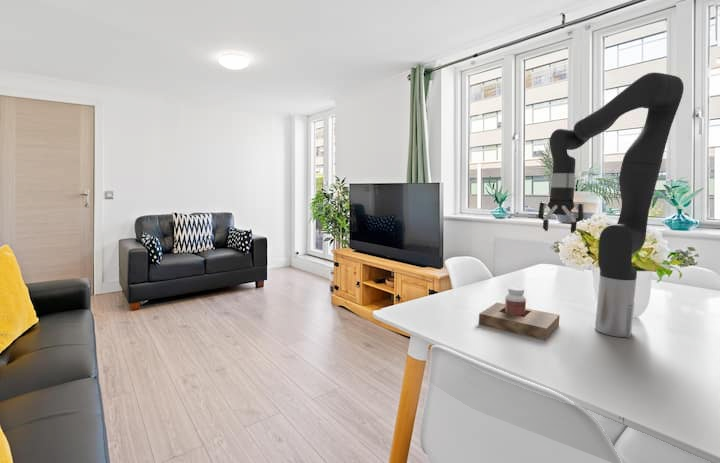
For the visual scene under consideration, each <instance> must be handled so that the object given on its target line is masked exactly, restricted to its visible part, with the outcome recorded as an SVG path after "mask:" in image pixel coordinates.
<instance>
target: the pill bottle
mask: <svg viewBox="0 0 720 463" xmlns="http://www.w3.org/2000/svg"><path fill="white" fill-rule="evenodd" d="M507 293H508V294H506V296H505V302H504V304H505V313H507V314H512V315H516V316H521V317H525V308H526V304H527V298H526V296H525V295H524V294H525V289H524V288H522V287H517V286H510V287H508V290H507Z"/></svg>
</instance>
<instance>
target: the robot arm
mask: <svg viewBox="0 0 720 463" xmlns="http://www.w3.org/2000/svg"><path fill="white" fill-rule="evenodd" d="M683 95H684V82H683V80H682V79H681V77H679V76H677V75H673V74H668V73H662V72H656V71H655V72H649V73H645V74H643V75H642V76H640V77H639V78H637V79H636V80H634V81H633V82H632V83H630V84H629V85H628V86H627V87H626V88H624V89H623V90H622V91H620V92H619V93H618V94H617V95H615V96H614V97H613V98H612V99H611V100H609V101H608V102H606V103H605V104H604V105H603V106H602V107H601V106H600V108H598V109H597V110H595V111H593V112H592V113H590V114H588V115H586V116H584V117H582V118H581V119H579V120H578V121H576V122H575V124H574V126H573V128H571V129H570V128H569V129H567V128H557V129H555V130H554V131H553V132H552V133H551V135H550V138H549V148H550V153H551V159H552V162H553V163H552V176H551V181H550V191H549V192H550V193H549V201H548V202H544V201H541V202H540V203H539V207H538V214H537V215H538V216H537V218H538V219H540V220H542V221H543V223H542V225H543V226H542V230H544V231H545V232H548V230H549V224H550V220H549V219H550V218H551V217H552V216H553V215H555V216H558V215H561V216H567V217H568V218H569V219H570V221H571V222H570V234H574V233H575V232H576V231H577V224H578V222H580V221H581V222H582V221H583V220H584V204H583V203H575V202H574V199H575V198H574V197H575V186H576V183H575V182H576V177H575V176H576V175H575V172H576V159H575V157H573V156H570V155H569V153H568V151H573V150H576V149H579V148H581V147H582V146H583V145H585V143H587V142H588V141H589V140H590V139H591V138H594V137H596V136H598V135H600V134H602V133H604V132H605V131H607V130H608V129H610V128H611V127H612V126H613V125H614V124H615V122H616V121H617V120H618V119H619V118H620V117H621V116H622V115H624V114H626V113H629V112H631V111H634V110H637V109H641V108H643V109H648V110H647V115H646V119H645V122H644V124H643V128H642V130H641V131H640V133H639V134H638V136H637V137H636V139H635V140H634V141H633V142H632V143H631V145H630V146H629V147H628V149H627V150H626V152H625V154H624V156H623V158H622V162H621V163H622V164H621V166H620V171H619V175H618V176H619V177H618V183H619V184H618V185H619V191H620V197H621V209H620V214H619V217H618V220H617V223H616V224H610V225H607V226H606V227H604V228H603V229H602V231H601V233H600V235H599V240H598V248H597V251H598V252H597V254H598V255H597V264H598V268H599V280H598V291H597V292H598V293H597V304H596V314H595V315H596V316H595V325H594V326H595V327H594V328H595V329H594V330H596V331H597V332H599V333H601V334H604V335H607V336H612V337H616V338H617V337H618V338H631V335H632V330H633V321H634V320H633V319H634V312H635V311H634V310H635V296H636V285H637V278H638V276H637V274H638V271H637V269H636V268H635V267H634V266H633V263H632V262H633V254H634V253H635V254H636V253H637V252H638V251H640V250H641V249H642V248H643V247H644V244H645V242H646V237H647V230H648V229H647V227H648V219H649V212H650V208H651V205H652V200H653V197H654V194H655V189H656V186H657V182H658V179H659V174H660V171H661V166H662V163H663V157H664V154H665V149H666V147H667V142H668V139H669V135H670V132H671V128H672V125H673V123H674V119H675V117H676V114H677V112H678V109H679V106H680V104H681V101H682V98H683ZM547 207H548V208H549V211H548V212H547V213H546V215H545V214H544V213H545V209H546V208H547ZM574 208H575V209H576V210H577V217H576V216H575V214H574V213H573V211H572V210H573V209H574Z"/></svg>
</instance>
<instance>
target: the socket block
mask: <svg viewBox="0 0 720 463" xmlns="http://www.w3.org/2000/svg"><path fill="white" fill-rule="evenodd" d="M478 325H480V326H484V327H489V328H493V329H498V330H502V331H506V332H510V333H514V334H519V335H521V336H522V335H523V336H526V337H531V338H535V339H538V340H539V339H540V340H543V341H547V340H548V339H549V338H550V337H551V335H552V334H553V333H554V332H555V330H557V328H558V327H559V325H560V314H557V313H553V312H552V313H551V312H548V311H543V310H542V311H541V310H538V309H531V308H527V307H525V317H521V316H516V315H512V314H507V313H505V303H501V302H495V303H494V304H493V305H490V306H489V307H487V308H486V309H485V310H483V311H481V312H479V313H478Z"/></svg>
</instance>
